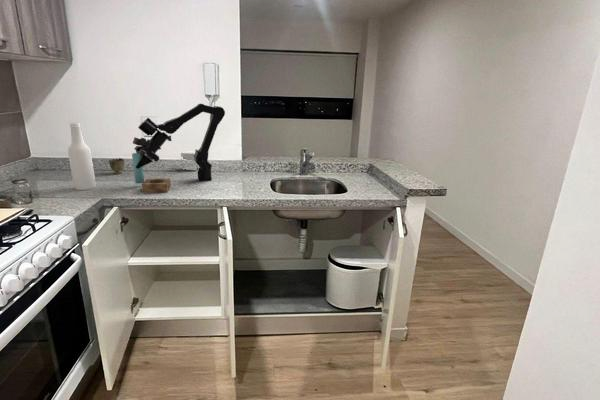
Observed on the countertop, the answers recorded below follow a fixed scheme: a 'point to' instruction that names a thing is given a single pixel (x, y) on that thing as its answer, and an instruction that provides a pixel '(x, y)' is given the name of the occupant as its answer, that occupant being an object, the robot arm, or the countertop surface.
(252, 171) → the countertop surface
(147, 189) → the socket
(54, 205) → the countertop surface
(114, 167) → the cup
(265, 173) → the countertop surface
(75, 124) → the alcohol
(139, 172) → the peg
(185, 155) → the small box
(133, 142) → the robot arm
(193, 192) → the countertop surface
